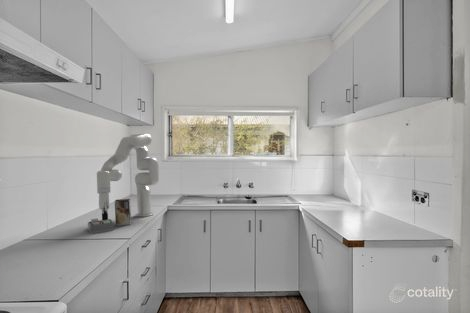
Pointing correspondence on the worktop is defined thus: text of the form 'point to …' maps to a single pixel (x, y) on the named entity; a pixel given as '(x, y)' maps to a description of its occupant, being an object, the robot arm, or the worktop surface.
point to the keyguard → (101, 227)
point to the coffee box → (122, 212)
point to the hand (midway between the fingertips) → (105, 219)
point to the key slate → (94, 220)
